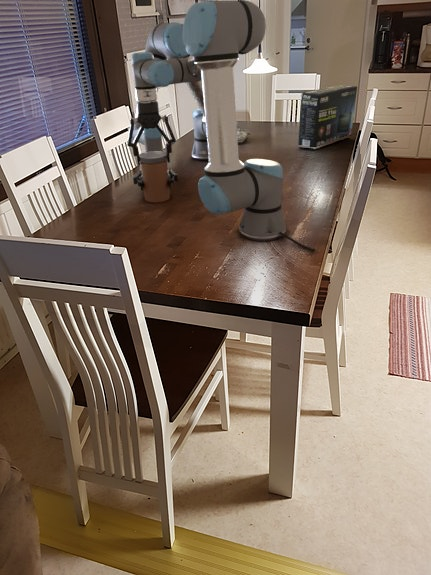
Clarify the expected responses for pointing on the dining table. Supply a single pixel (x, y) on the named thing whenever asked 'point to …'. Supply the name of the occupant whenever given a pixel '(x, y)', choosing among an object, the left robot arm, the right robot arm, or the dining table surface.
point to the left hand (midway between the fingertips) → (155, 185)
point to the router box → (326, 115)
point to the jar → (155, 181)
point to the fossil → (242, 134)
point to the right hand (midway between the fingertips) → (153, 163)
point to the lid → (153, 157)
